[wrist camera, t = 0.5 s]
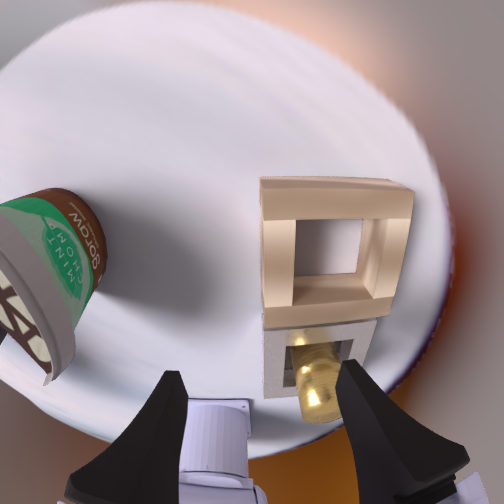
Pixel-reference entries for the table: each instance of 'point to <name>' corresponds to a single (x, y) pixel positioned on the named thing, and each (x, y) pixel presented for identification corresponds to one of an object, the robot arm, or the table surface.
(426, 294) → the table surface
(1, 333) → the coffee cup
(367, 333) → the socket block
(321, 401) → the peg
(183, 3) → the table surface
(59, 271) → the food container
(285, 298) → the beige square frame
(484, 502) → the robot arm
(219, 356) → the table surface
